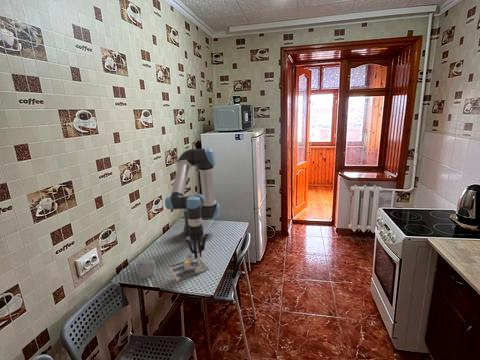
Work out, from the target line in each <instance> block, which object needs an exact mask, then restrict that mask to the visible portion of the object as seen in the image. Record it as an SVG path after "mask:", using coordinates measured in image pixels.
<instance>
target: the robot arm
mask: <svg viewBox="0 0 480 360" xmlns="http://www.w3.org/2000/svg"><path fill="white" fill-rule="evenodd" d="M216 163H217V161H216V154H215V152H214V149H212V148H205V147H204V148H191V149H187V150H185V151H183V153H181V154H180V156H179V157H178V159H177V161H176V167H177V168H176V172H175V176H174V181H173V185H172V189H171V193H170V196H169V195H168V196H166V197H165V199H164V206H165V208H166V209H167V210H183V216H184V225H183V230H182V231H183V235H185V236H187V237H185V238H184V240H185V241H186V243H187V245H188V248H189V251H190V253H191V254H192V255H193V256H194V258H195V260H196V261H195V262H197V263H199V264H200V263H201V261H200V259H201V258H202V253H203V252H204V251H205V248H206V240H207V237H208V233H206V232H204V226H203V224H202V223H203V220H216V219H218V218H219V214H220V203H219V202H217V199H215V189H214V179H213V169H215V168H214V167H215V165H217V164H216ZM192 167H196V169H197V170H198V171H199V176H200V177H199V178H200V187H201V193H197V194H194V195H185V190H186V186H187V182H188V181H187V180H188V178H189V177H188V176H189V171H190V169H192ZM191 240H192V243H191Z"/></svg>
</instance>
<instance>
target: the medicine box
mask: <svg viewBox="0 0 480 360" xmlns="http://www.w3.org/2000/svg"><path fill="white" fill-rule="evenodd" d="M137 266H138V267H137V268H138V274H139V279H151V277H154V276H155V275H156V273H157V266H156V260H155V259H145V260H144V259H143V260H140V262H139V263H138V265H137Z"/></svg>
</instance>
